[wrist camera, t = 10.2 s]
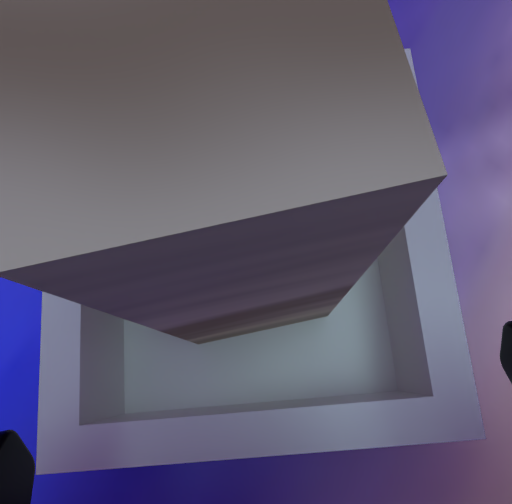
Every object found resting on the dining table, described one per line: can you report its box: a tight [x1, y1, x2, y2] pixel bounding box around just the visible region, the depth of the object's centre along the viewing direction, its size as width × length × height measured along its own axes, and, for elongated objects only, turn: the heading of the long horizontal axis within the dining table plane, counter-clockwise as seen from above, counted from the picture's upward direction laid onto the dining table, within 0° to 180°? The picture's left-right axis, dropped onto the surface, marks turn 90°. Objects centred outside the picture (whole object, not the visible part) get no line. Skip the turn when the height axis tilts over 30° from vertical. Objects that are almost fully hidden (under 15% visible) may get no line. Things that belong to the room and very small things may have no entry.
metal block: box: [0, 0, 447, 344], centre depth 12 cm, size 5×5×13 cm
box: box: [36, 49, 486, 475], centre depth 17 cm, size 12×12×5 cm
